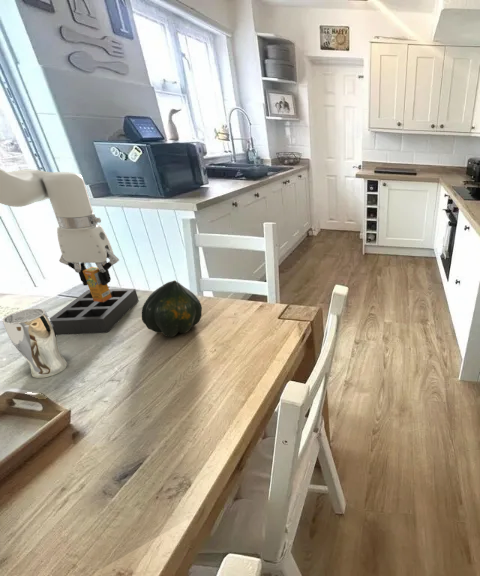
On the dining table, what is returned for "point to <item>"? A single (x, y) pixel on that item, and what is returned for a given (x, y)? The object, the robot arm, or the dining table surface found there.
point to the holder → (93, 313)
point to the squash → (171, 309)
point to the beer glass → (35, 341)
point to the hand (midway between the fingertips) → (97, 282)
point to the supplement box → (96, 285)
